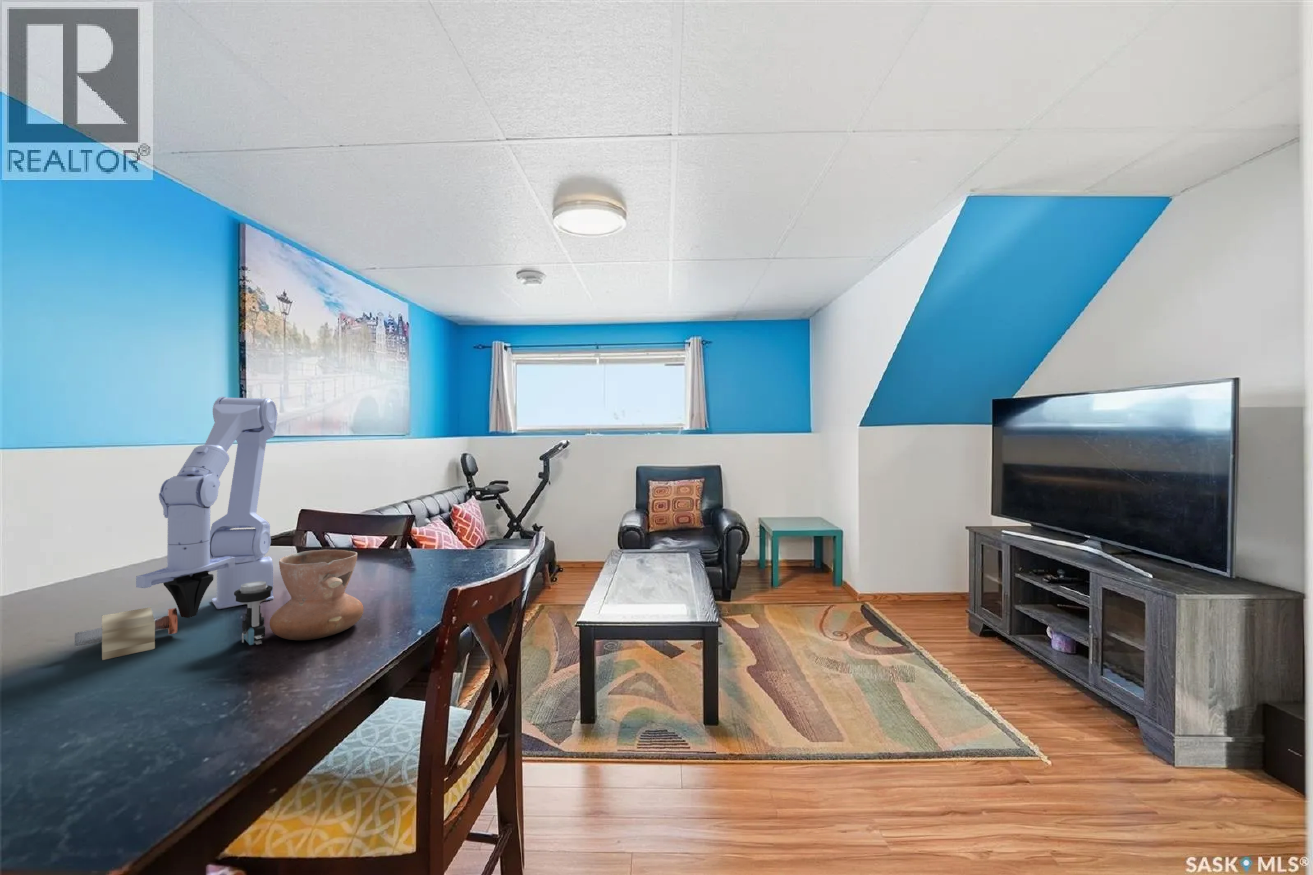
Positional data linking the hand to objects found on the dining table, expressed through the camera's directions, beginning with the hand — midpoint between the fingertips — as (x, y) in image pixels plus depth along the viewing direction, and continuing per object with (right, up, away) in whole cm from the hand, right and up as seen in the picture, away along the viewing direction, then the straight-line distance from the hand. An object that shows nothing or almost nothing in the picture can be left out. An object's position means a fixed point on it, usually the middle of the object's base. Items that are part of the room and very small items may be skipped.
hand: (188, 616), depth 93 cm
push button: (+14, -4, -3) cm, 15 cm away
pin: (-5, -3, -6) cm, 8 cm away
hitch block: (-5, -3, -6) cm, 8 cm away
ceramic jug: (+22, -4, +2) cm, 22 cm away
